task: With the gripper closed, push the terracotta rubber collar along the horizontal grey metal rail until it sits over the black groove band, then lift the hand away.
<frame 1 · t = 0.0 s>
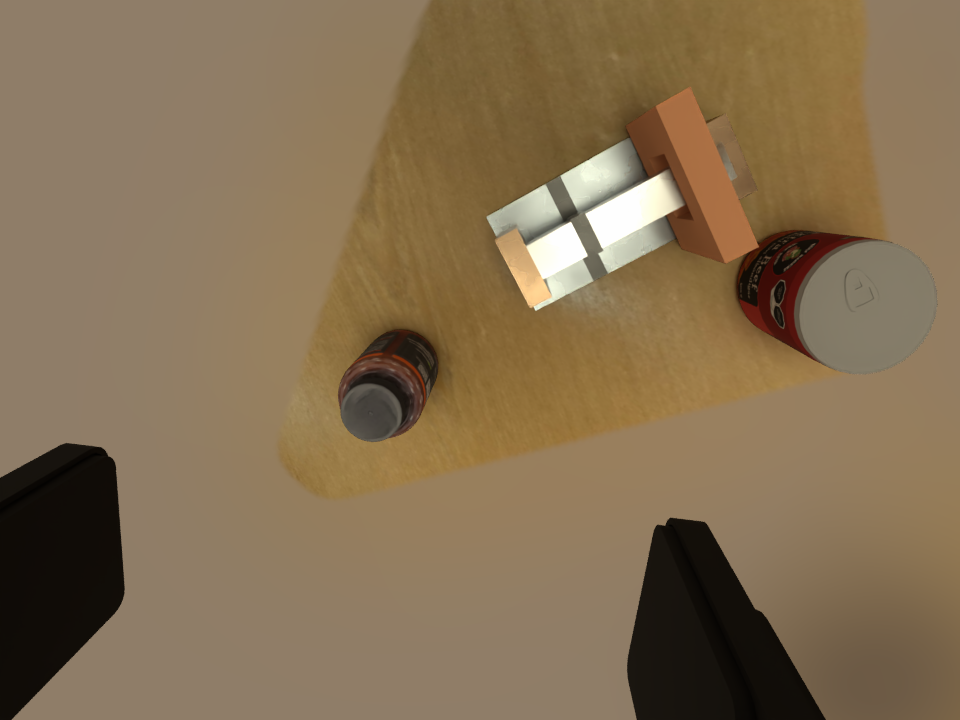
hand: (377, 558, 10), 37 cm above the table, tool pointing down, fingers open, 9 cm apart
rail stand: (606, 212, 44), on the table
canned food: (785, 282, 45), on the table
supplement bottle: (403, 363, 49), on the table
collar: (685, 180, 38), point 6 cm above the table, slide at 0.0 cm
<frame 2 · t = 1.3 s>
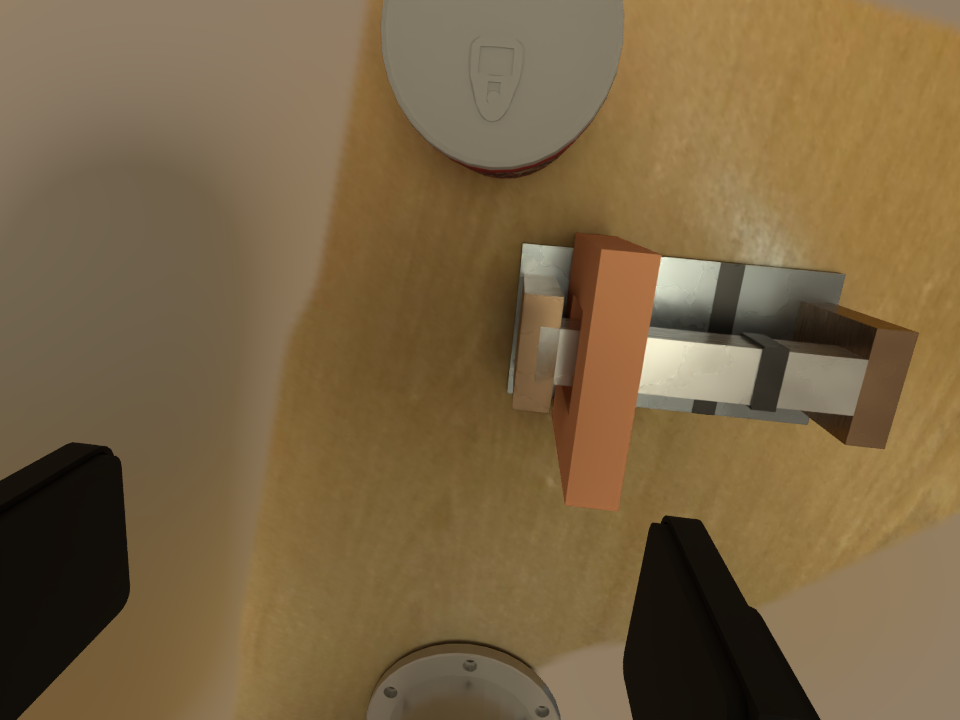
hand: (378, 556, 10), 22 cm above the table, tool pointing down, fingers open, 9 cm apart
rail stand: (666, 333, 31), on the table
canned food: (508, 94, 29), on the table
collar: (594, 353, 26), point 6 cm above the table, slide at 0.0 cm
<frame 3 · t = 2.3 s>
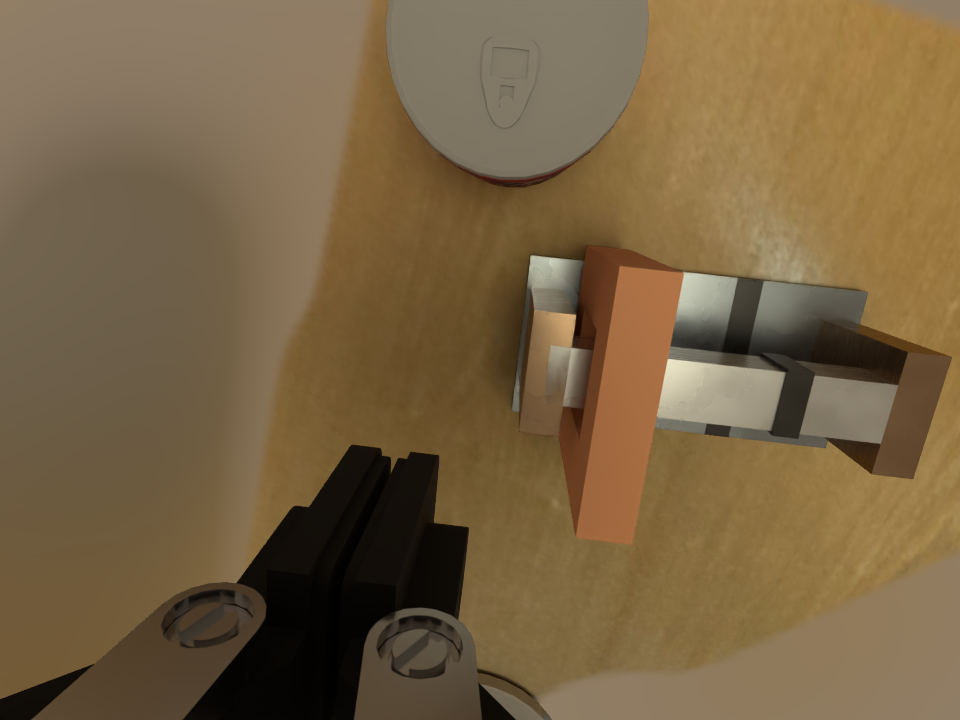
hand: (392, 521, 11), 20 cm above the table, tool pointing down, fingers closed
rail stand: (678, 351, 30), on the table
canned food: (517, 99, 28), on the table
collar: (606, 374, 24), point 6 cm above the table, slide at 0.0 cm
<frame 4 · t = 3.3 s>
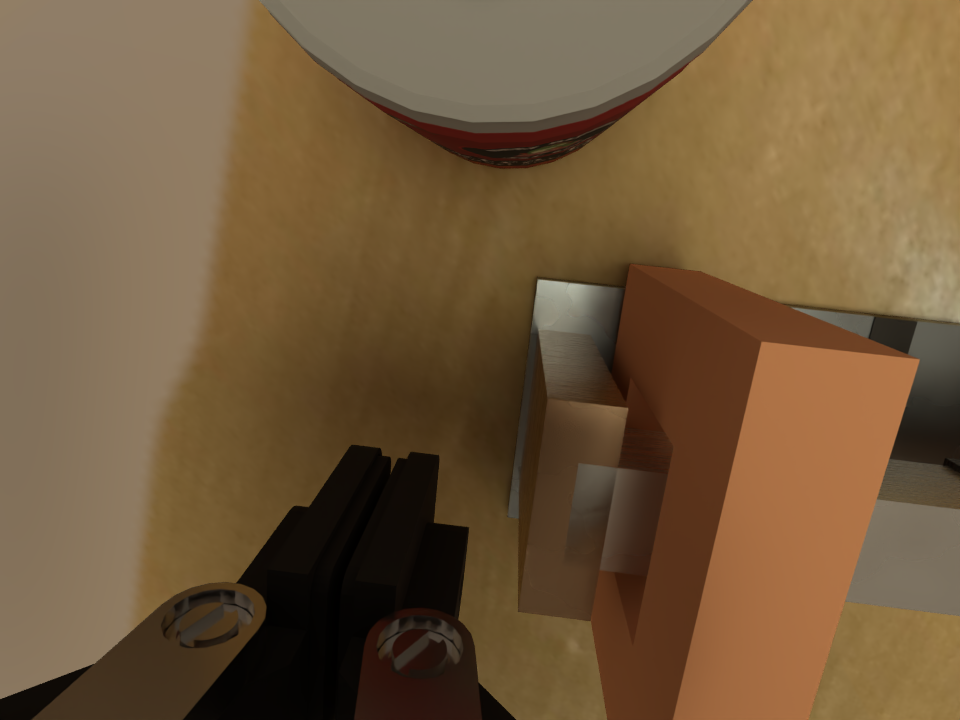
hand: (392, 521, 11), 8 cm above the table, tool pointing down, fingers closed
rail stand: (769, 428, 19), on the table
canned food: (515, 23, 17), on the table
collar: (675, 502, 14), point 6 cm above the table, slide at 0.0 cm
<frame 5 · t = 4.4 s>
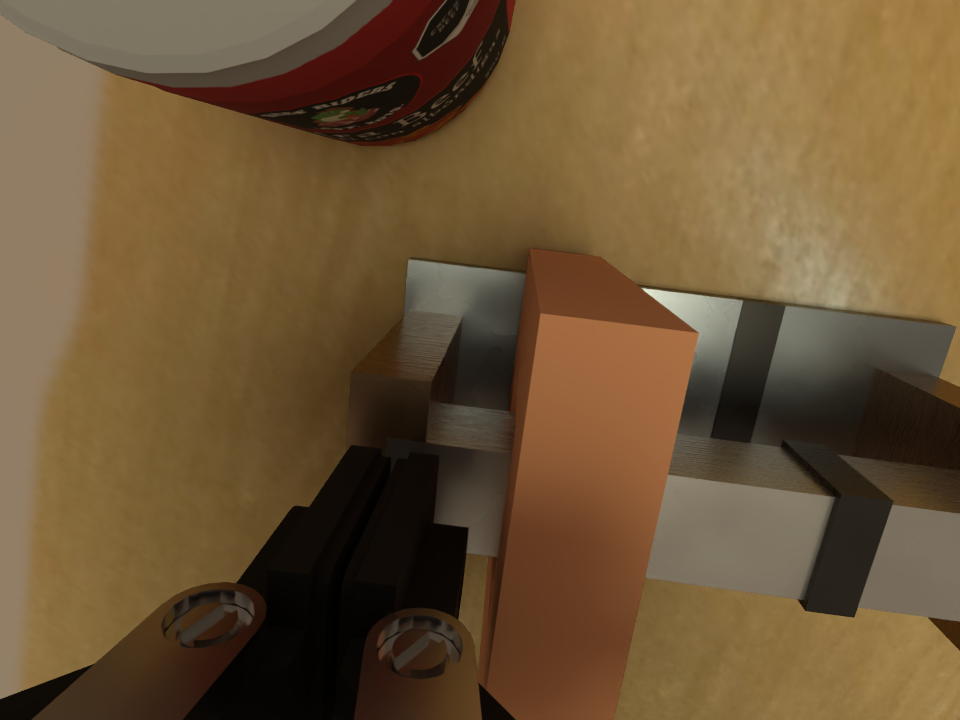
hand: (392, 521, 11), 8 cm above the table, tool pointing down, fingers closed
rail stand: (647, 412, 19), on the table
collar: (547, 486, 13), point 6 cm above the table, slide at 1.0 cm, touching gripper
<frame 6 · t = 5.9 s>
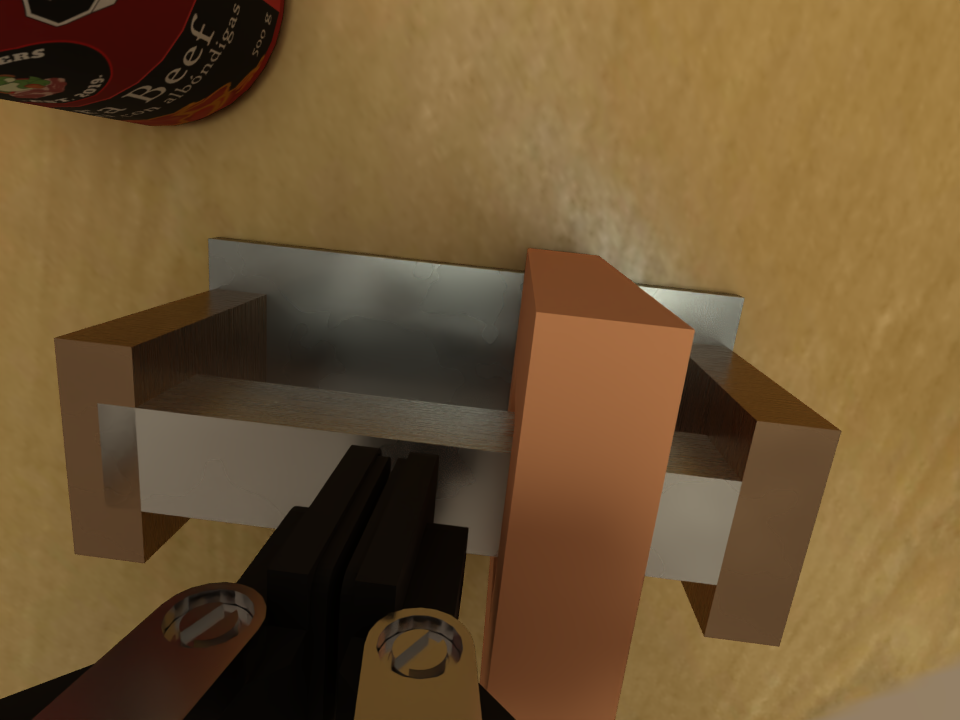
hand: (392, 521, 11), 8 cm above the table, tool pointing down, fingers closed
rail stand: (461, 388, 19), on the table
collar: (548, 485, 13), point 6 cm above the table, slide at 7.0 cm, touching gripper
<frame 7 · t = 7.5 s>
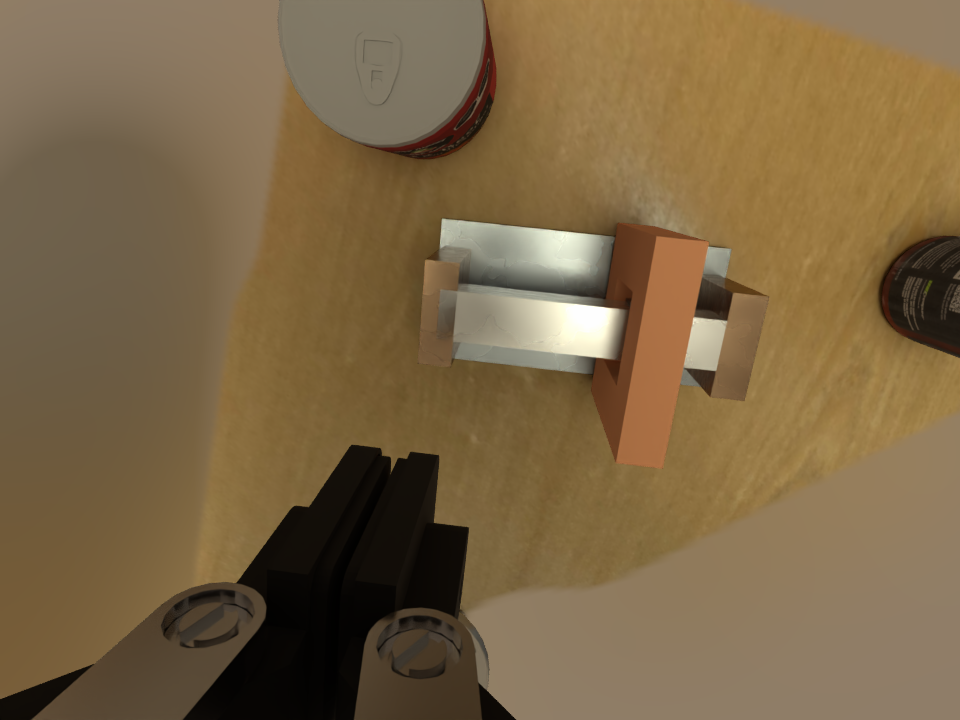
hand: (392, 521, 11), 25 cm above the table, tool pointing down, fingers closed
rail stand: (574, 302, 35), on the table
canned food: (426, 82, 32), on the table
supplement bottle: (930, 287, 33), on the table
collar: (637, 331, 29), point 6 cm above the table, slide at 7.1 cm
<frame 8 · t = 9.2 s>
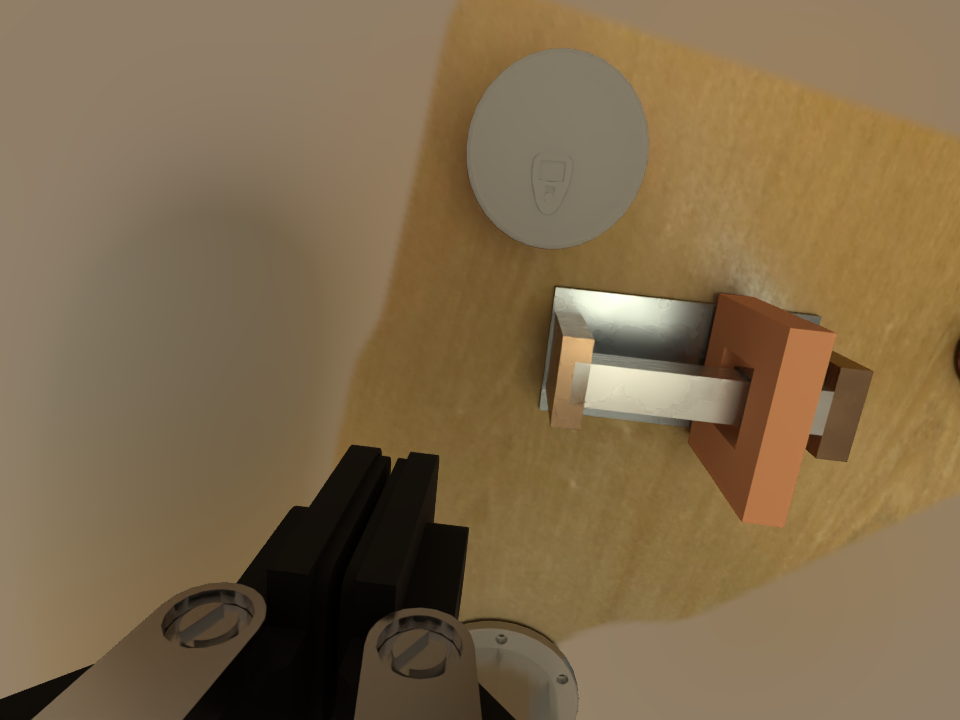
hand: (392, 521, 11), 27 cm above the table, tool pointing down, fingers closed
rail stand: (672, 362, 38), on the table
canned food: (545, 165, 35), on the table
collar: (748, 398, 32), point 6 cm above the table, slide at 7.1 cm
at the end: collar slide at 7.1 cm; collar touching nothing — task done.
